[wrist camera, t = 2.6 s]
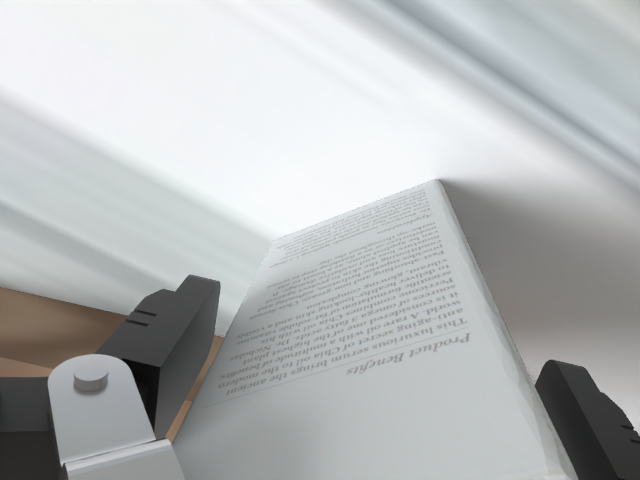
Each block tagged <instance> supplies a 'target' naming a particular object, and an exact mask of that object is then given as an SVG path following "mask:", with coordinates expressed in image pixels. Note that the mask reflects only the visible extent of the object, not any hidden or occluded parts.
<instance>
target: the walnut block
mask: <svg viewBox="0 0 640 480" xmlns="http://www.w3.org/2000/svg"><path fill="white" fill-rule="evenodd" d="M127 317H128V316H126V315H121V314H117V313H113V312H108V311H104V310H99V309H95V308H90V307H86V306H82V305H77V304H73V303H68V302H64V301H59V300H55V299H51V298H46V297H42V296H37V295H33V294H28V293H24V292H20V291H15V290H11V289H6V288H2V287H0V377H47V376H50V374H51V372H52V371H53V370H54V369H55V368H56V367H57V366H58V365H60V364H61V363H63V362H65V361H67V360H69V359H71V358H75V357H78V356H83V355H90V354H94V353H95V352H96V351H97V350H98V349H99V348H100V347H101V346H102V345H103V344H104V342H105V341H106V340H107V339H108V338H109V337H110V336H111V335H112V334H113V332H114V331H115V330H116V329H117V328H118V327H119V326H120V325H121V324H122V322H123V321H124V322H125V320H126V318H127ZM223 340H224V338H223V337H219V336H214V337H213V342H212V346H211V349H210V352H209V355H208V357H207V360H206V362H205V364H204V366H203V367H202V369H201V371H200V373H199V375H198V377H197V379H196V380H195V382H194V384H193V386H192V388H191V390H190V392H189V393H188V395H187V397H186V399H185V401H184V403H183V405H182V406H181V408H180V410H179V412H178V414H177V416H176V418H175V419H174V421H173V423H172V425H171V427H170V429H169V431H168V432H167V434H166V436H165V438H167V439H168V440H169V441H170V443H171V444H172V442H173V440H174V438H175V436H176V434H177V432H178V430H179V428H180V426H181V424H182V422H183V420H184V418H185V416H186V414H187V412H188V410H189V408H190V406H191V405H192V403H193V401H194V399H195V396H196V394H197V392H198V390H199V388H200V386H201V384H202V382H203V380H204V378H205V376H206V374H207V372H208V370H209V368H210V366H211V364H212V362H213V360H214V358H215V356H216V354H217V352H218V350H219V348H220V346H221V344H222V342H223Z"/></svg>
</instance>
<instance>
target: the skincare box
mask: <svg viewBox="0 0 640 480" xmlns="http://www.w3.org/2000/svg"><path fill="white" fill-rule="evenodd" d="M172 447H173V449H174V452H175V454H176V457H177V459H178V462H179V464H180V467H181V469H182V472H183V474H184V477H185V480H578V477H577V475H576V472H575V470H574V468H573V465H572V463H571V461H570V459H569V457H568V455H567V453H566V451H565V449H564V447H563V444H562V442H561V440H560V438H559V436H558V434H557V432H556V430H555V428H554V426H553V424H552V422H551V420H550V418H549V415H548V413H547V411H546V409H545V407H544V405H543V403H542V401H541V399H540V397H539V395H538V393H537V391H536V388H535V386H534V384H533V382H532V380H531V378H530V376H529V374H528V372H527V369H526V367H525V365H524V363H523V361H522V359H521V357H520V355H519V353H518V350H517V348H516V346H515V344H514V342H513V340H512V338H511V336H510V334H509V332H508V329H507V327H506V325H505V323H504V321H503V318H502V316H501V314H500V312H499V310H498V307H497V305H496V303H495V301H494V298H493V296H492V294H491V292H490V290H489V287H488V285H487V283H486V281H485V279H484V276H483V274H482V272H481V270H480V268H479V266H478V263H477V261H476V259H475V257H474V255H473V252H472V250H471V248H470V245H469V243H468V241H467V239H466V236H465V234H464V232H463V230H462V228H461V225H460V223H459V221H458V218H457V216H456V214H455V212H454V210H453V208H452V206H451V203H450V201H449V198H448V196H447V194H446V192H445V189H444V187H443V185H442V184H441V182H440V181H439V180H436V179H434V180H431V181H428V182H426V183H423V184H421V185H418V186H416V187H413V188H410V189H408V190H405V191H402V192H400V193H397V194H394V195H392V196H389V197H386V198H384V199H381V200H378V201H376V202H373V203H371V204H368V205H365V206H363V207H360V208H357V209H355V210H352V211H350V212H347V213H345V214H342V215H339V216H337V217H334V218H331V219H329V220H326V221H323V222H321V223H318V224H316V225H313V226H311V227H308V228H305V229H303V230H300V231H297V232H295V233H292V234H289V235H287V236H284V237H281V238H278V239H276V240H274V241H273V242H272V244H271V246H270V248H269V250H268V252H267V254H266V256H265V257H264V260H263V262H262V264H261V266H260V268H259V270H258V272H257V274H256V275H255V277H254V279H253V282H252V284H251V286H250V288H249V290H248V292H247V294H246V296H245V298H244V300H243V302H242V304H241V306H240V308H239V310H238V312H237V314H236V316H235V318H234V320H233V322H232V324H231V326H230V328H229V330H228V332H227V334H226V336H225V338H224V340H223V342H222V344H221V346H220V348H219V350H218V352H217V354H216V356H215V358H214V360H213V362H212V364H211V366H210V368H209V370H208V372H207V374H206V376H205V378H204V380H203V382H202V384H201V386H200V388H199V390H198V392H197V394H196V396H195V399H194V401H193V403H192V405H191V406H190V408H189V410H188V412H187V414H186V416H185V418H184V420H183V422H182V424H181V426H180V428H179V430H178V432H177V434H176V436H175V438H174V440H173V442H172Z"/></svg>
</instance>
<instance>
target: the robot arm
mask: <svg viewBox="0 0 640 480" xmlns="http://www.w3.org/2000/svg"><path fill="white" fill-rule="evenodd" d="M219 295H220V282H219V281H216V280H212V279H208V278H203V277H199V276H195V275H188V277H187V278H186V279H185V280H184V281H183V283H182V284H181V285H180V286H179V288H178V289H177V290H176V291H175V292H174V291H170V290H165V289H162V290H160V291H158V292H155V293H153V294H151V295H149V296H147V297H145V298H144V299H143V300H142V301H141V303H140V304H139V305H138V306H137V307H136V308H135V310H134V312H133V311H132V313H131V314H130V315H129V316H128V317H127V318H126V320H125V322H124V321H123V322H122V324H121V325H120V326H119V327H118V328H117V329H116V330H115V331H114V332H113V334H112V335H111V336H110V337H109V338H108V339H107V340H106V341H105V342H104V344H103V345H102V346H101V347H100V348H99V349H98V350H97V351H96V352H95V353H94V354H90V355H83V356H78V357H75V358H71V359H69V360H67V361H65V362H63V363H61V364H60V365H58V366H57V367H56V368H55V369H54V370H53V371H52V372H51V374H50V376H47V377H0V480H185V477H184V474H183V472H182V469H181V467H180V464H179V462H178V459H177V457H176V454H175V452H174V449H173V447H172V444H171V443H170V441H169V440H168V439H167V438H165V436H166V434H167V432H168V431H169V429H170V427H171V425H172V423H173V421H174V419H175V418H176V416H177V414H178V412H179V410H180V408H181V406H182V405H183V403H184V401H185V399H186V397H187V395H188V393H189V392H190V390H191V388H192V386H193V384H194V382H195V380H196V379H197V377H198V375H199V373H200V371H201V369H202V367H203V366H204V364H205V362H206V360H207V357H208V355H209V352H210V349H211V346H212V342H213V337H214V330H215V323H216V316H217V309H218V302H219ZM535 388H536V391H537V393H538V395H539V397H540V399H541V401H542V403H543V405H544V407H545V409H546V411H547V413H548V415H549V418H550V420H551V422H552V424H553V426H554V428H555V430H556V432H557V434H558V436H559V438H560V440H561V442H562V444H563V447H564V449H565V451H566V453H567V455H568V457H569V459H570V461H571V463H572V465H573V468H574V470H575V472H576V475H577V477H578V480H640V436H639V435H638V433H637V432H636V431H634V430H633V429H634V427H633V426H632V424H631V423H630V421H629V419H628V418H627V416H626V415H625V413H624V412H623V410H622V409H621V408H620V407H618V406H617V405H616V404H615V403H614V402H613V401H612V400H611V399H610V398H609V397H608V396H606V395H605V394H604V393H601V392H600V391H599V389H598V387H597V386H596V384H595V383H594V381H593V379H592V378H591V376H590V375H589V373H588V371H587V370H586V369H585V368H584V367H582V366H577V365H573V364H569V363H564V362H560V361H556V360H549V361H547V362H546V363H545V365H544V366H543V368H542V370H541V373H540V375H539V377H538V379H537V382H536V384H535Z"/></svg>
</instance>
